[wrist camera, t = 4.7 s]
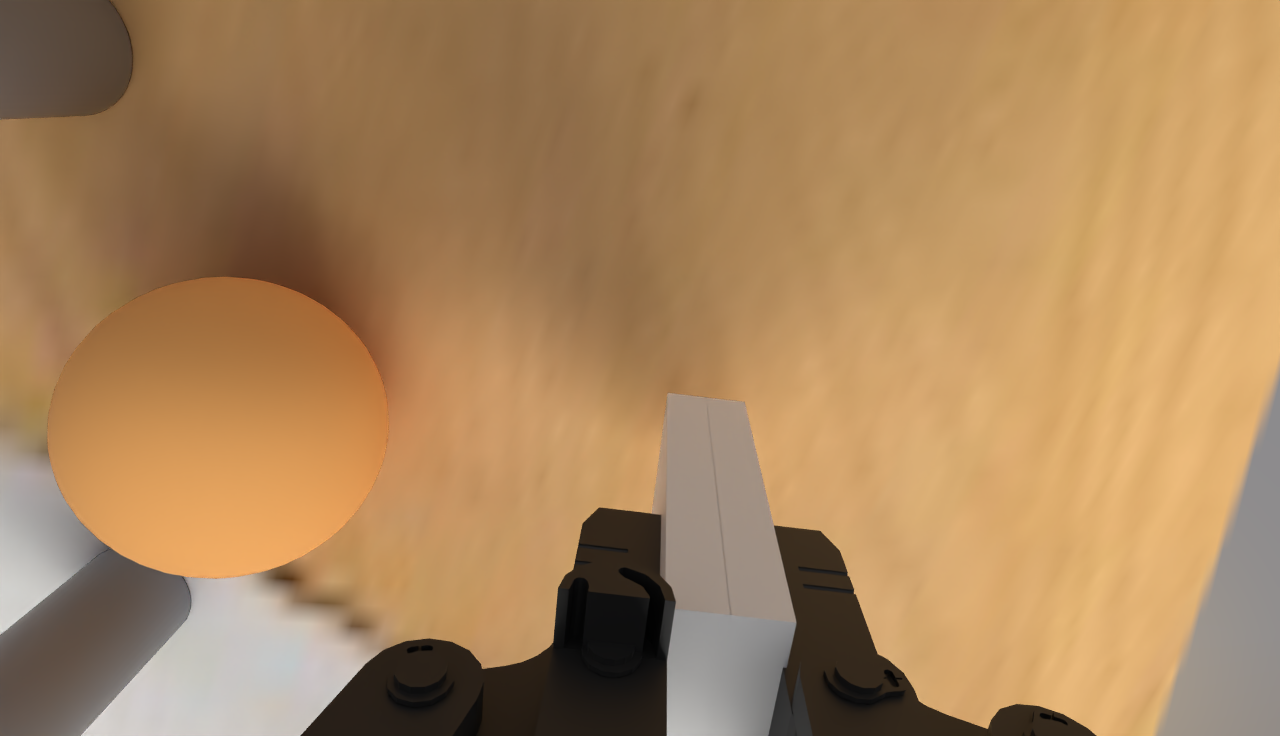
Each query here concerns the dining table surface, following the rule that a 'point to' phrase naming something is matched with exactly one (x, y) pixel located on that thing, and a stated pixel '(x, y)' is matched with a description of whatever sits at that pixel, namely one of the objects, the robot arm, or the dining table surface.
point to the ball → (217, 427)
